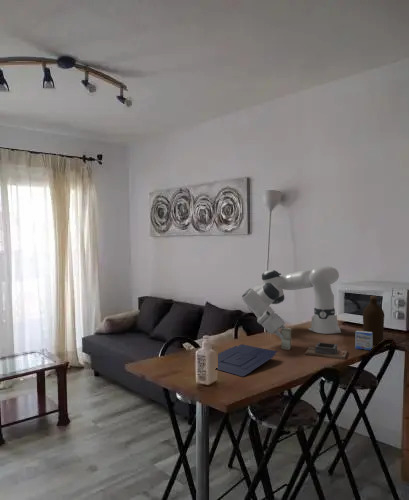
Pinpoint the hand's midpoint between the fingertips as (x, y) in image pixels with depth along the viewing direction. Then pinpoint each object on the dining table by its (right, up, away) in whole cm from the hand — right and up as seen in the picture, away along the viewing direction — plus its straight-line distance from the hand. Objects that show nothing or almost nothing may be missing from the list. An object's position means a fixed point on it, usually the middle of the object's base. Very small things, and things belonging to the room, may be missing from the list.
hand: (284, 335), depth 204 cm
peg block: (+1, -7, 0) cm, 7 cm away
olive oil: (+49, -6, +9) cm, 50 cm away
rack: (+18, -7, -10) cm, 22 cm away
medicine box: (+40, -7, -2) cm, 40 cm away
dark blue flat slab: (-25, -8, -24) cm, 35 cm away
